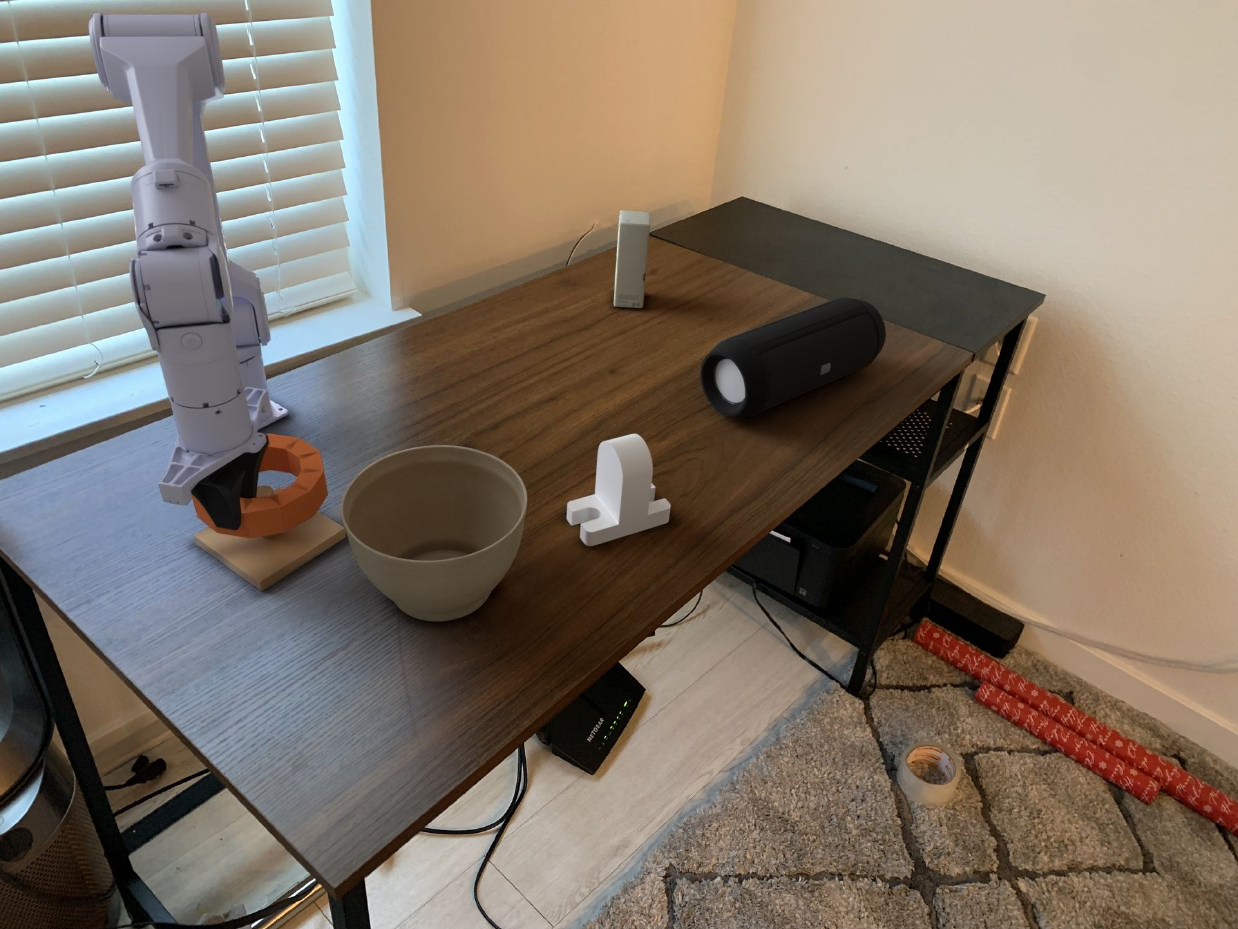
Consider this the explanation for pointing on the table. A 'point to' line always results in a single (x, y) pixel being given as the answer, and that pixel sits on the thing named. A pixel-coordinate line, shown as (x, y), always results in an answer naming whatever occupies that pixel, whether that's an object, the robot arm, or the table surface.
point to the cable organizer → (619, 494)
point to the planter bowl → (435, 527)
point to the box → (631, 258)
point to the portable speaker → (791, 356)
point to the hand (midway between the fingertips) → (235, 516)
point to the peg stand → (271, 547)
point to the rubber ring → (289, 502)
